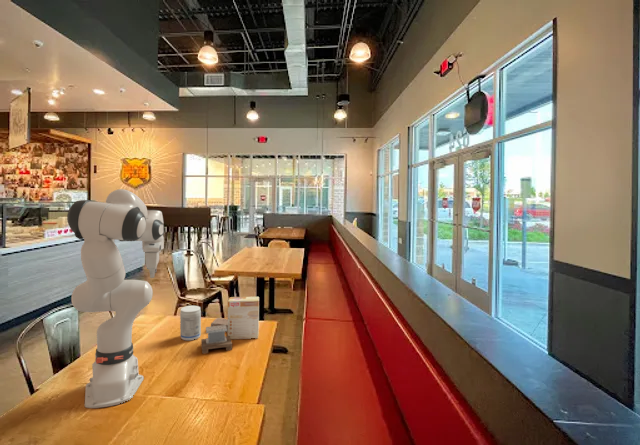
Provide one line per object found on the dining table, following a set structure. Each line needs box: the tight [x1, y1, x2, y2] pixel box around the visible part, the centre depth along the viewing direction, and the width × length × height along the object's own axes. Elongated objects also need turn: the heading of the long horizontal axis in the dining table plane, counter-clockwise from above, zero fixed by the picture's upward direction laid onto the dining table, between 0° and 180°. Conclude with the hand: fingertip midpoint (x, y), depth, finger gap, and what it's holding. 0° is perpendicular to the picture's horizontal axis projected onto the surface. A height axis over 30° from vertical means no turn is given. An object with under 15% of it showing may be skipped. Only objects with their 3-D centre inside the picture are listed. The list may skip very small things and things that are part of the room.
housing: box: [205, 325, 227, 345], centre depth 163 cm, size 9×5×6 cm, turn 111°
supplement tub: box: [179, 305, 202, 341], centre depth 174 cm, size 10×10×15 cm
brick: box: [210, 317, 228, 333], centre depth 186 cm, size 17×8×5 cm, turn 83°
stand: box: [200, 335, 233, 355], centre depth 164 cm, size 9×13×3 cm
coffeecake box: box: [227, 296, 260, 340], centre depth 177 cm, size 15×7×20 cm, turn 98°
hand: (153, 275), depth 161 cm, fingers open, 8 cm apart
